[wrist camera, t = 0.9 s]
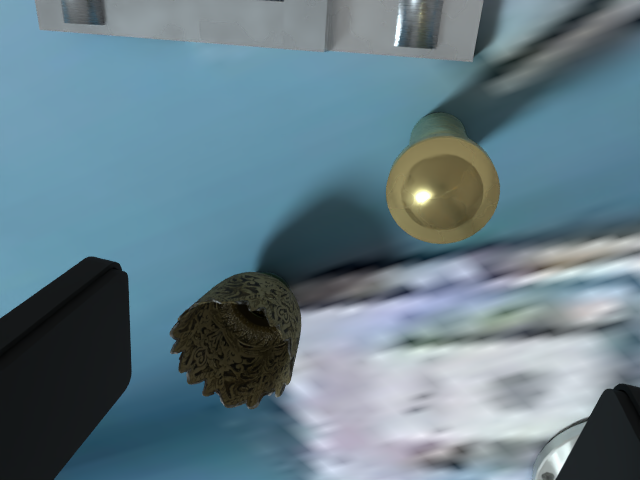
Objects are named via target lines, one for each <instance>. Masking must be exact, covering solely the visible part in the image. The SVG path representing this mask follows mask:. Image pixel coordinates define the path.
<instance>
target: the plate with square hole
mask: <svg viewBox="0 0 640 480" xmlns="http://www.w3.org/2000/svg"><path fill="white" fill-rule="evenodd" d="M35 4H36V10H37V16H38V22H39V28H40V30H48V31H61V32H74V33H86V34H99V35H112V36H125V37H138V38H150V39H163V40H176V41H189V42H202V43H214V44H227V45H240V46H253V47H266V48H278V49H291V50H304V51H317V52H327V51H339V52H352V53H365V54H378V55H391V56H403V57H416V58H429V59H442V60H455V61H468V62H472V61H473V56H474V50H475V45H476V39H477V34H478V28H479V23H480V17H481V11H482V6H483V0H284V2H281V1H264V0H35Z"/></svg>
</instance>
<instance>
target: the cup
mask: <svg viewBox="0 0 640 480" xmlns="http://www.w3.org/2000/svg"><path fill="white" fill-rule="evenodd" d="M300 332H301V313H300V309H299V306H298V303H297V300H296V298H295V297H294V295H293V294H292V292H291V290H290V287H289V285H288V284H287V282H286V281H285V280H284V279H283V278H281V277H280V276H278V275H276V274H274V273H270V272H261V273H258V272H245V273H240V274H236V275H233V276H231V277H229V278H227V279H225V280H223V281H222V282H220V283H219V284H217V285H216V286H215V287H213V288H212V289H211V290H210V291H208V292H207V293H206V294H205V295H204V296H202V297H201V298H200V299H199V300H198V301H197V302H195V303H194V304H193V305H192V306H191V307H190V308H189V309H187V310H186V311H185V312H184V313H183V314H182V315H180V317H179V318H178V322H177V323H176V324H175V325H174V327H173V328H172V329H171V331H170V336H171V337H172V338H173V339H175V340H176V342H175V344H174V345H173V347H172V349H171V352H170V353H171V354H177V353H180V352H182V353H181V355H180V357H179V360H180V363H179V372H180V373H183V372H187V371H188V372H187V374H186V375H187V383H188V384H191V385H193V384H197V383H200V382H203V381H205V386H204V389H203V391H202V393H203V396H210V395H213V394H214V392H215V393H217V394H218V395H219V396H220V400H221V402H222V403H223V405H224V406H225V407H227V408H233V407H237V406H240V405H242V404H245V403H246V405H247V407H248V408H249V409H254V408H256V407H257V406H258V405H259V403H260V401H261V399H262V398H263V396H265V395H269V396H270V395H271V394H272V393H273V392H275V396H276V397H279V396H281V394H282V393H283V391H284V389H285V386H286V385H288V384H289V383H290V381H291V377H292V371H293V366H294V362H295V358H296V353H297V349H298V344H299V339H300Z"/></svg>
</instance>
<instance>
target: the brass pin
mask: <svg viewBox="0 0 640 480" xmlns="http://www.w3.org/2000/svg"><path fill="white" fill-rule="evenodd" d="M499 194H500V185H499V178H498V175H497V172H496V170H495V167H494V165H493V163H492V161H491V159H490V157H489V156H488V154H487V153H486V152H485V151H484V149H483V148H482V147H480V146H479V145H478V144H477V143H475V142H474V141H472V140H470V139H468V137H467V134H466V131H465V128H464V126H463V125H462V123H461V122H460V121H459V120H458V119H457V118H456V117H454V116H452V115H450V114H447V113H440V112H438V113H432V114H429V115H427V116H425V117H423V118H422V119H421V120H420V121H418V123H417V124H416V125H415V127H414V128H413V130H412V133H411V137H410V143H409V145H408V146H407V147H406V148H405V149H404V150H403V151H402V152H401V153H400V154H399V155H398V157H397V158H396V160H395V161H394V163H393V165H392V168H391V171H390V174H389V177H388V181H387V186H386V199H387V204H388V208H389V210H390V213H391V215H392V217H393V219H394V220H395V221H396V223H397V224H398V225H399V226H400V227H401V228H402V229H403V230H404V231H405V232H406V233H408V234H409V235H411V236H413V237H415V238H417V239H419V240H422V241H425V242H429V243H437V244H446V243H453V242H457V241H461V240H463V239H466V238H468V237H470V236H472V235H474V234H475V233H476V232H478V231H479V230H480V229H481V228H483V227H484V226H485V225H486V223H487V222H488V221H489V220H490V218H491V217H492V215H493V214H494V211H495V209H496V207H497V204H498V201H499Z"/></svg>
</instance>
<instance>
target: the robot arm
mask: <svg viewBox="0 0 640 480" xmlns="http://www.w3.org/2000/svg"><path fill="white" fill-rule="evenodd" d="M130 378H131V344H130V315H129V286H128V275H127V273H126V272H124V271H122V268H121V266H120V264H119V263H117V262H113V261H109V260H105V259H101V258H97V257H87V258H85V259H84V260H82V261H81V262H79V263H78V264H77V265H75V266H74V267H72V268H71V269H69V270H68V271H67V272H65V273H64V274H62V275H61V276H60V277H58V278H57V279H55V280H54V281H53V282H51V283H50V284H48V285H47V286H45V287H44V288H43V289H41V290H40V291H38V292H37V293H36V294H34V295H33V296H31V297H30V298H29V299H27V300H26V301H24V302H23V303H21V304H20V305H19V306H17V307H16V308H14V309H13V310H12V311H10V312H9V313H7V314H6V315H5V316H3V317H2V318H0V480H54V478H55V477H56V476H57V475H58V473H59V472H60V471H61V470H62V468H63V467H64V466H65V465H66V463H67V462H68V461H69V460H70V458H71V457H72V456H73V455H74V453H75V452H76V451H77V450H78V448H79V447H80V446H81V445H82V443H83V442H84V441H85V440H86V438H87V437H88V436H89V435H90V434H91V432H92V431H93V430H94V429H95V427H96V426H97V425H98V424H99V422H100V421H101V420H102V419H103V417H104V416H105V415H106V414H107V412H108V411H109V410H110V409H111V407H112V406H113V405H114V404H115V402H116V401H117V400H118V399H119V397H120V396H121V395H122V394H123V392H124V391H125V390H126V388H127V386H128V384H129V382H130ZM532 480H640V388H639V387H635V386H631V385H627V384H618V385H617V386H615V387H614V389H606V390H605V391H604V392H603V393H602V395H601V397H600V398H599V400H598V402H597V404H596V406H595V408H594V409H593V411H592V413H591V415H590V417H589V419H588V421H586V422H584V423H581V424H578V425H576V426H573V427H571V428H569V429H567V430H566V431H564V432H562V433H561V434H559V435H557V436H556V437H555V438H554V439H553V440H551V441H550V442H549V443H548V444H547V445H546V446H545V447H544V448H543V450H542V451H541V452H540V454H539V455H538V457H537V459H536V462H535V464H534V466H533V472H532Z"/></svg>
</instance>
